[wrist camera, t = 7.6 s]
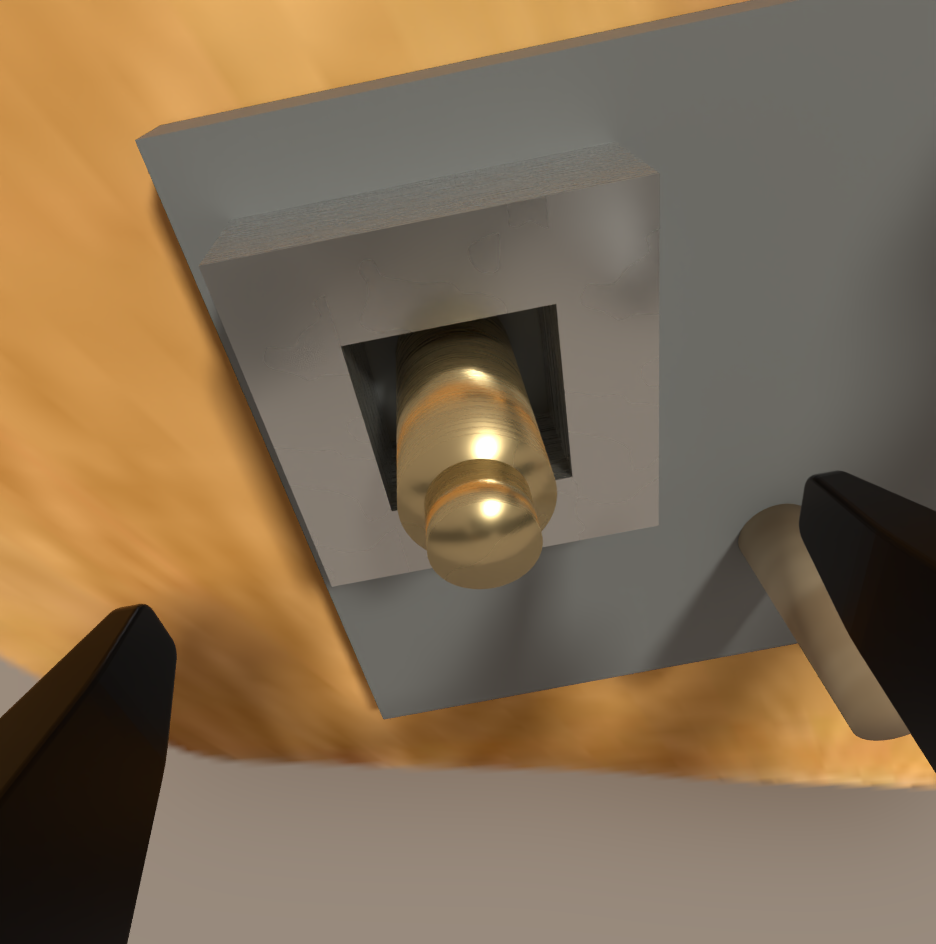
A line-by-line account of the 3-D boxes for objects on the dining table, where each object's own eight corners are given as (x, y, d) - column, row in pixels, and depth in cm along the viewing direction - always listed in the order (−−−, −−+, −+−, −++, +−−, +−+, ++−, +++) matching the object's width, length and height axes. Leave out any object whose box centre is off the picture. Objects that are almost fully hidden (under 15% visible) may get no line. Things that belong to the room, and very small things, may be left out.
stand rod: (817, 497, 17) (963, 672, 13) (807, 552, 18) (937, 730, 14) (740, 511, 17) (859, 691, 13) (735, 566, 19) (843, 748, 14)
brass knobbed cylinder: (501, 288, 13) (564, 461, 8) (517, 392, 15) (577, 591, 10) (383, 312, 13) (377, 497, 8) (410, 413, 15) (418, 620, 10)
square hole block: (615, 141, 12) (659, 173, 10) (625, 457, 16) (658, 525, 14) (231, 219, 12) (198, 266, 10) (339, 512, 16) (332, 586, 14)
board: (1083, -70, 12) (1161, -77, 11) (889, 586, 22) (919, 621, 21) (160, 125, 12) (135, 139, 11) (384, 680, 22) (383, 719, 21)
